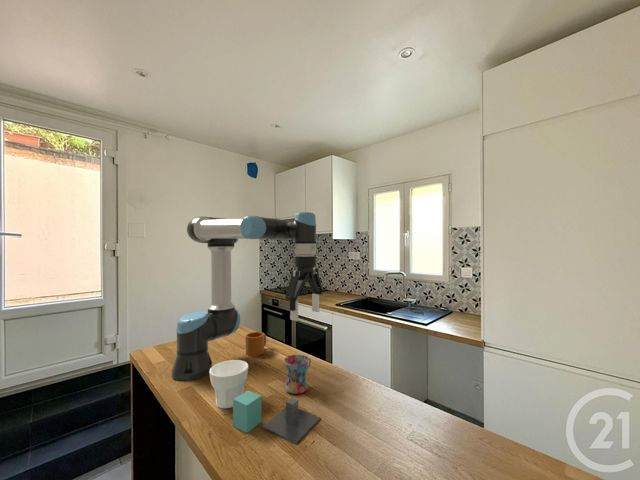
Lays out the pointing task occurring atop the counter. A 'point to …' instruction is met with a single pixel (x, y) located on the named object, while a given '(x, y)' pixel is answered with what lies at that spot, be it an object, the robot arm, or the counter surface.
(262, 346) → the mug
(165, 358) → the counter surface
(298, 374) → the mug
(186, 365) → the robot arm
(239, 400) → the teal block
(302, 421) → the grey square tile
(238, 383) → the cup
